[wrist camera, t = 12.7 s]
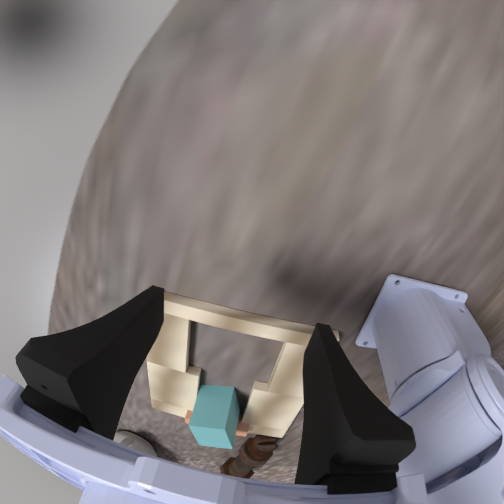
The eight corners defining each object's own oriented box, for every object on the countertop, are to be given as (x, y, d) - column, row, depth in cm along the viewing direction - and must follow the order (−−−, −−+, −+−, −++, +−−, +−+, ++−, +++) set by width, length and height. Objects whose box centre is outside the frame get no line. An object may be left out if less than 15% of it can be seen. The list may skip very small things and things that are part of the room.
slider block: (234, 386, 32) (224, 429, 26) (240, 409, 34) (232, 448, 28) (201, 384, 32) (188, 425, 27) (209, 407, 34) (199, 445, 29)
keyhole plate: (338, 330, 26) (341, 349, 24) (282, 430, 35) (281, 445, 33) (148, 286, 26) (136, 302, 24) (154, 401, 36) (149, 414, 33)
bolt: (273, 420, 37) (242, 456, 44) (242, 427, 35) (216, 461, 41) (291, 452, 33) (254, 482, 39) (259, 462, 30) (228, 489, 37)
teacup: (155, 456, 47) (144, 487, 40) (107, 434, 46) (94, 463, 39) (171, 438, 41) (158, 476, 34) (112, 410, 40) (94, 447, 33)
